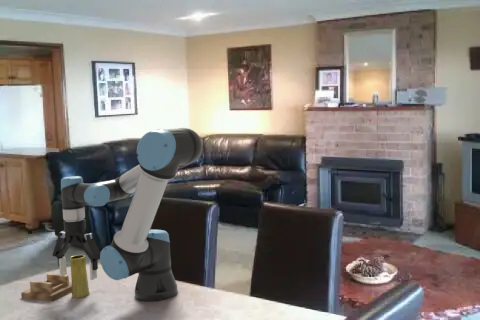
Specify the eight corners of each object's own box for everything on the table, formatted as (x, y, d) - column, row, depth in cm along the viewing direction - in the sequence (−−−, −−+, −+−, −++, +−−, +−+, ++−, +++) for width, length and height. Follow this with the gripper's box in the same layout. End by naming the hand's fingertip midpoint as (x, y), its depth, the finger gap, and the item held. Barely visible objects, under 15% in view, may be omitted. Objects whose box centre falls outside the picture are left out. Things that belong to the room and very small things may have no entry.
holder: (78, 288, 192) (77, 273, 191) (52, 301, 179) (50, 286, 178) (49, 285, 197) (48, 271, 196) (21, 297, 184) (20, 283, 183)
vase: (84, 298, 180) (81, 259, 179) (68, 297, 181) (65, 259, 180) (92, 292, 186) (89, 254, 185) (77, 291, 187) (74, 254, 186)
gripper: (109, 218, 180) (113, 276, 182) (54, 215, 189) (58, 270, 191) (96, 223, 173) (100, 283, 175) (39, 220, 182) (43, 277, 185)
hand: (78, 277), depth 183 cm, fingers open, 13 cm apart
